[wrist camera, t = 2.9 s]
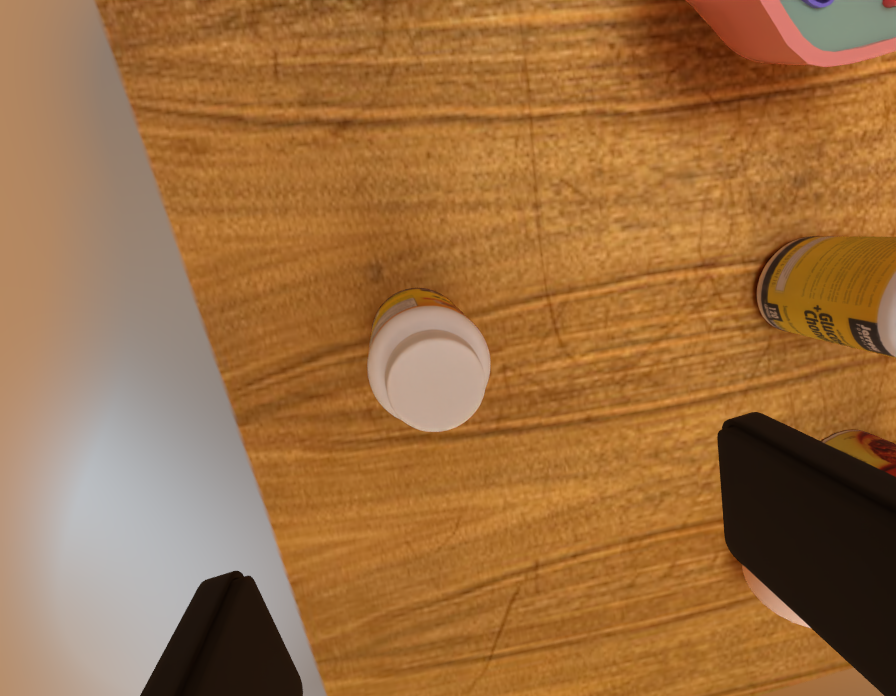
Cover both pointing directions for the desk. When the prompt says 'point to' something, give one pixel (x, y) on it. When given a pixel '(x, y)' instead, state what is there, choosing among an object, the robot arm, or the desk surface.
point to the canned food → (866, 448)
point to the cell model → (803, 29)
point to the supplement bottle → (427, 361)
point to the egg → (770, 598)
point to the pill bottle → (834, 291)
